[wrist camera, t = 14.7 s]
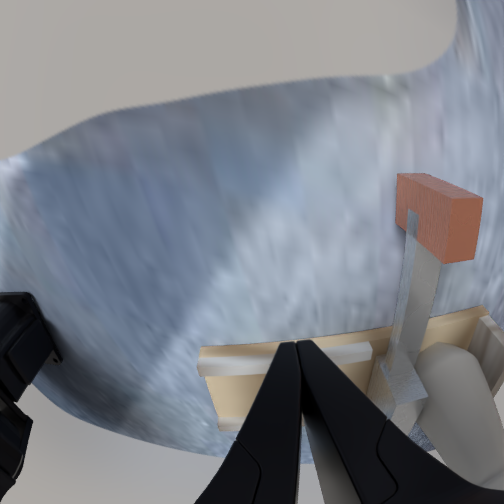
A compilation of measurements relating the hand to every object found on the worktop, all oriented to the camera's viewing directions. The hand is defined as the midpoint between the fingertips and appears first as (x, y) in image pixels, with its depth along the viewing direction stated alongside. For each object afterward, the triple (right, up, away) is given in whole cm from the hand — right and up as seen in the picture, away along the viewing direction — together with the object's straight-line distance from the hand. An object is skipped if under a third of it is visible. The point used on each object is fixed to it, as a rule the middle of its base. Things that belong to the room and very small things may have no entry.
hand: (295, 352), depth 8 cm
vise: (+6, -5, +11) cm, 13 cm away
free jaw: (+7, -1, +8) cm, 10 cm away
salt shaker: (+11, -5, +10) cm, 16 cm away
